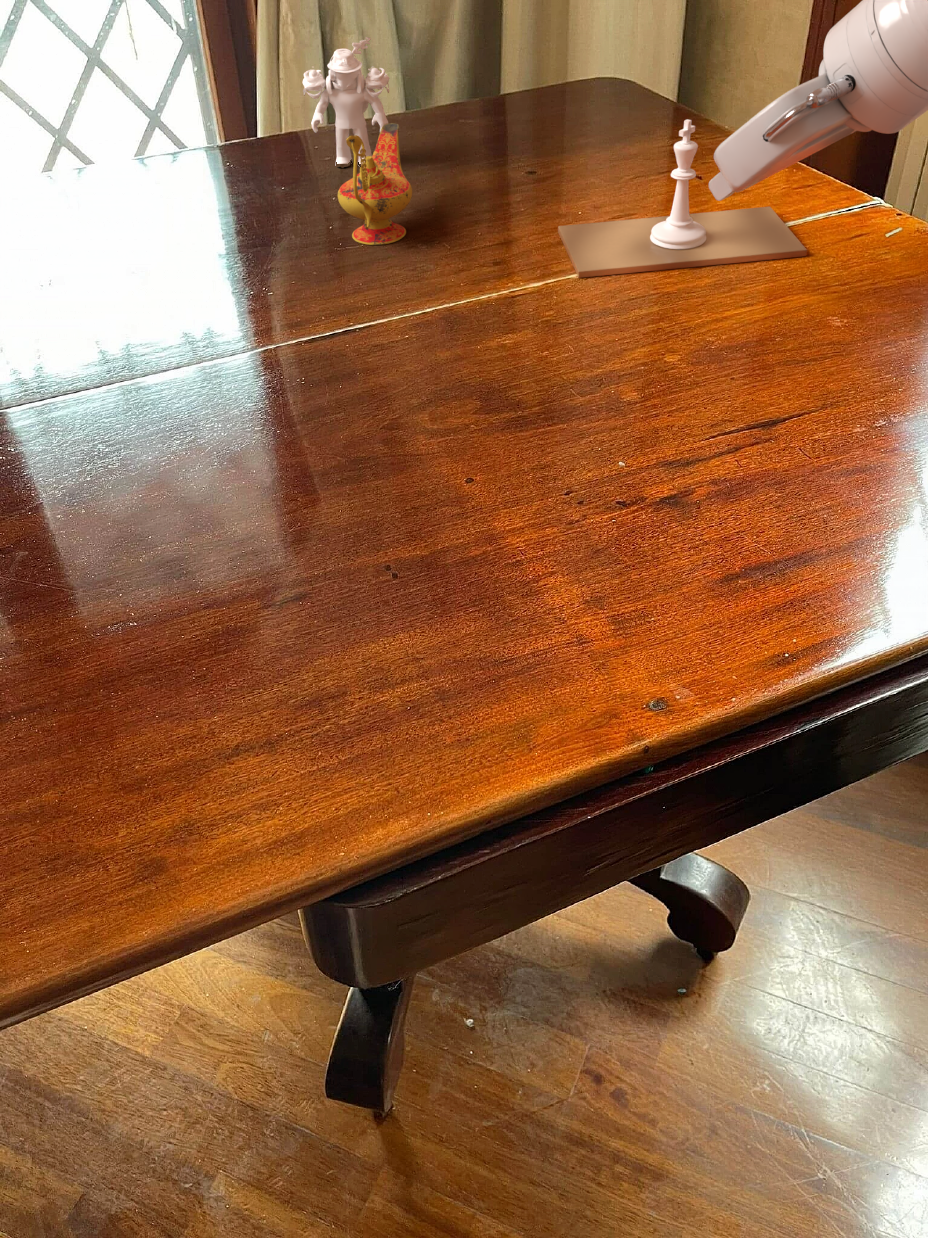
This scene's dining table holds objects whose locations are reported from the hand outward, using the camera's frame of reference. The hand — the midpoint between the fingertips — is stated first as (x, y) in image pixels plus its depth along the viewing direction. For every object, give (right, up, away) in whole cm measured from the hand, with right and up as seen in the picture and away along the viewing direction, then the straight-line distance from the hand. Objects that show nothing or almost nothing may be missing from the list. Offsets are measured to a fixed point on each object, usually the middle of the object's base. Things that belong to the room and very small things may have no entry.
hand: (751, 173), depth 90 cm
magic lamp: (-31, +1, +15) cm, 34 cm away
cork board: (-4, -3, +8) cm, 10 cm away
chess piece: (-4, -3, +8) cm, 9 cm away
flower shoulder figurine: (-35, +12, +28) cm, 47 cm away
